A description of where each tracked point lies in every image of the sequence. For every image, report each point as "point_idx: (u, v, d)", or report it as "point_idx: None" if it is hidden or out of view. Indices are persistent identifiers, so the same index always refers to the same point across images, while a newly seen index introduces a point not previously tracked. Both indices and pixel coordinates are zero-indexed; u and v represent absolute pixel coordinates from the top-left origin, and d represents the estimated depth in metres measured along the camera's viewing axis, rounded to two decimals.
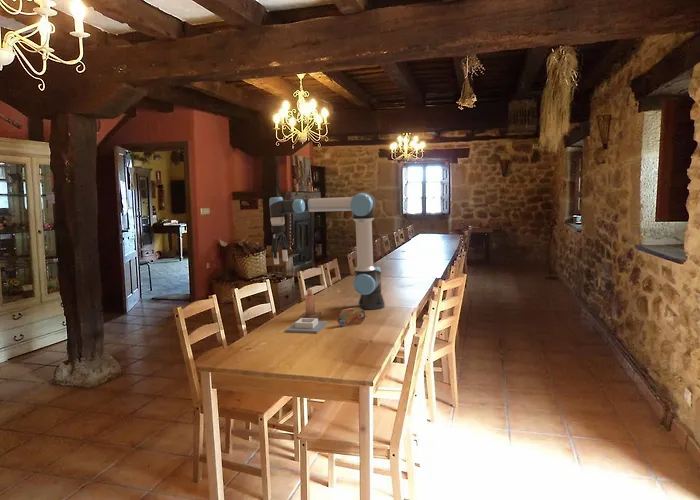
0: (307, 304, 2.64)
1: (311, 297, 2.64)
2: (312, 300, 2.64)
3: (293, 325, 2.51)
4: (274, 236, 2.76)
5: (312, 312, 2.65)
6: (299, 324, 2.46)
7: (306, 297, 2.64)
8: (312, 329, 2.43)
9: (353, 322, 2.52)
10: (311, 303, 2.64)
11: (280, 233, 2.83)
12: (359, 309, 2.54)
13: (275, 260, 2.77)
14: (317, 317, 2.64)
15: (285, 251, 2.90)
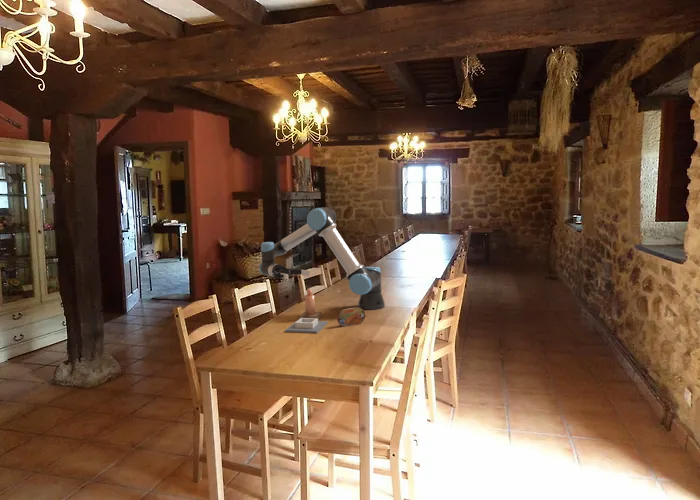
0: (307, 304, 2.64)
1: (311, 297, 2.64)
2: (312, 300, 2.64)
3: (293, 325, 2.51)
4: (272, 273, 2.79)
5: (312, 312, 2.65)
6: (299, 324, 2.46)
7: (306, 297, 2.64)
8: (312, 329, 2.43)
9: (353, 322, 2.52)
10: (311, 303, 2.64)
11: (281, 269, 2.84)
12: (359, 309, 2.54)
13: (284, 277, 2.69)
14: (317, 317, 2.64)
15: (302, 271, 2.80)
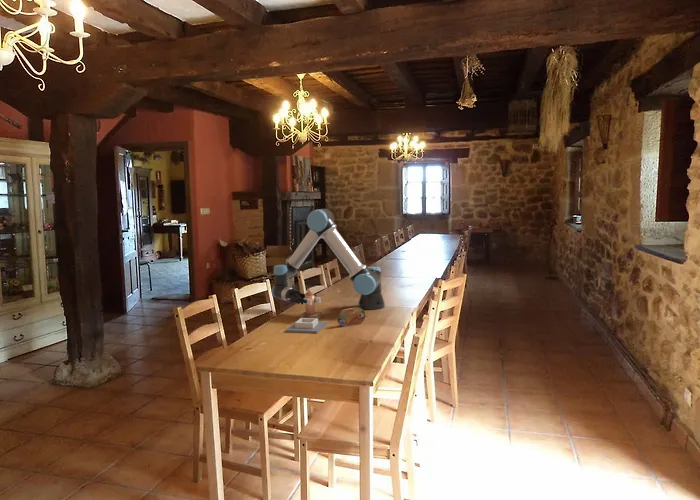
0: (307, 304, 2.64)
1: (311, 297, 2.64)
2: (312, 300, 2.64)
3: (293, 325, 2.51)
4: (288, 298, 2.70)
5: (312, 312, 2.65)
6: (299, 324, 2.46)
7: (306, 297, 2.64)
8: (312, 329, 2.43)
9: (353, 322, 2.52)
10: None
11: (295, 294, 2.76)
12: (359, 309, 2.54)
13: (308, 302, 2.62)
14: (317, 317, 2.64)
15: None
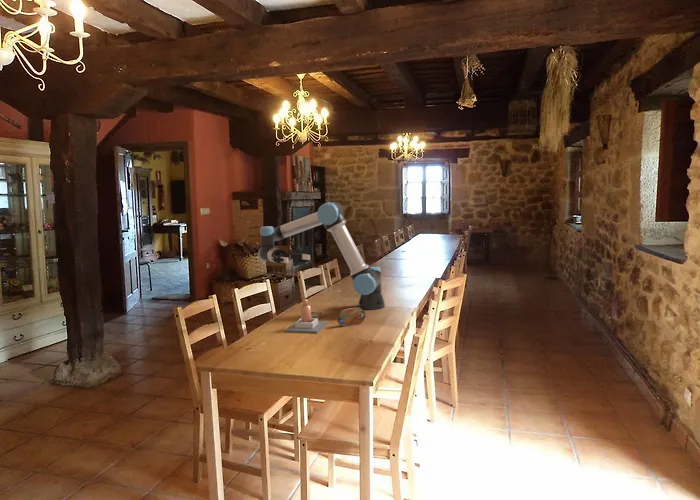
0: (302, 315, 2.47)
1: (306, 308, 2.46)
2: (308, 311, 2.47)
3: (293, 325, 2.51)
4: (272, 257, 2.70)
5: None
6: (299, 324, 2.46)
7: (301, 308, 2.47)
8: (312, 329, 2.43)
9: (353, 322, 2.52)
10: (307, 314, 2.47)
11: (281, 254, 2.75)
12: (359, 309, 2.54)
13: (284, 260, 2.60)
14: (317, 317, 2.64)
15: (302, 255, 2.71)
